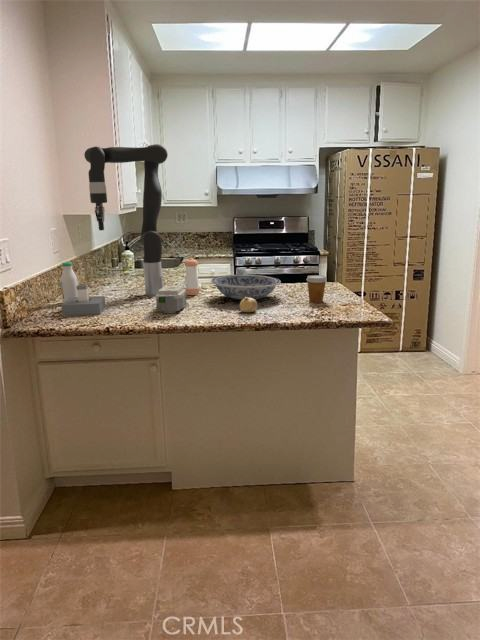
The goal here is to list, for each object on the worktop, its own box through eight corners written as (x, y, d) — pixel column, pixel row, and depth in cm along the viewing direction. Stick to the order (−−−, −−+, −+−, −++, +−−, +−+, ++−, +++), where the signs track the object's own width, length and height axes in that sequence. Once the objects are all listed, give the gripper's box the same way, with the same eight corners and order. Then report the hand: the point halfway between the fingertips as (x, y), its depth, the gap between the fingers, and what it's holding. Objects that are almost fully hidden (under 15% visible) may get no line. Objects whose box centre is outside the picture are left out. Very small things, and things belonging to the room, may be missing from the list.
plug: (90, 309, 211) (87, 284, 208) (88, 312, 207) (85, 285, 204) (81, 310, 210) (78, 284, 207) (79, 312, 206) (76, 286, 203)
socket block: (105, 306, 217) (104, 296, 216) (100, 314, 202) (99, 303, 201) (70, 307, 215) (69, 297, 214) (62, 316, 200) (61, 305, 199)
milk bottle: (83, 301, 229) (78, 261, 224) (72, 304, 222) (68, 263, 217) (70, 300, 231) (65, 261, 226) (59, 304, 224) (54, 263, 219)
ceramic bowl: (283, 306, 211) (284, 284, 209) (209, 307, 211) (209, 286, 209) (277, 291, 245) (277, 272, 242) (213, 292, 245) (212, 274, 242)
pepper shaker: (197, 296, 237) (195, 259, 232) (183, 295, 238) (181, 258, 233) (201, 293, 244) (199, 257, 239) (188, 292, 245) (186, 257, 240)
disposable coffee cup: (328, 300, 222) (329, 275, 219) (323, 304, 214) (323, 278, 210) (309, 298, 226) (309, 274, 223) (303, 302, 217) (303, 277, 214)
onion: (240, 310, 206) (239, 294, 204) (257, 309, 206) (257, 294, 204) (239, 314, 198) (239, 298, 196) (257, 314, 198) (257, 298, 196)
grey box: (153, 315, 196) (151, 292, 194) (165, 305, 224) (164, 284, 222) (180, 315, 195) (179, 292, 194) (188, 304, 223) (188, 284, 222)
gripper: (104, 192, 208) (107, 230, 212) (108, 192, 220) (111, 229, 225) (87, 192, 207) (91, 231, 211) (92, 192, 219) (95, 229, 224)
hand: (101, 230), depth 218 cm, fingers closed
